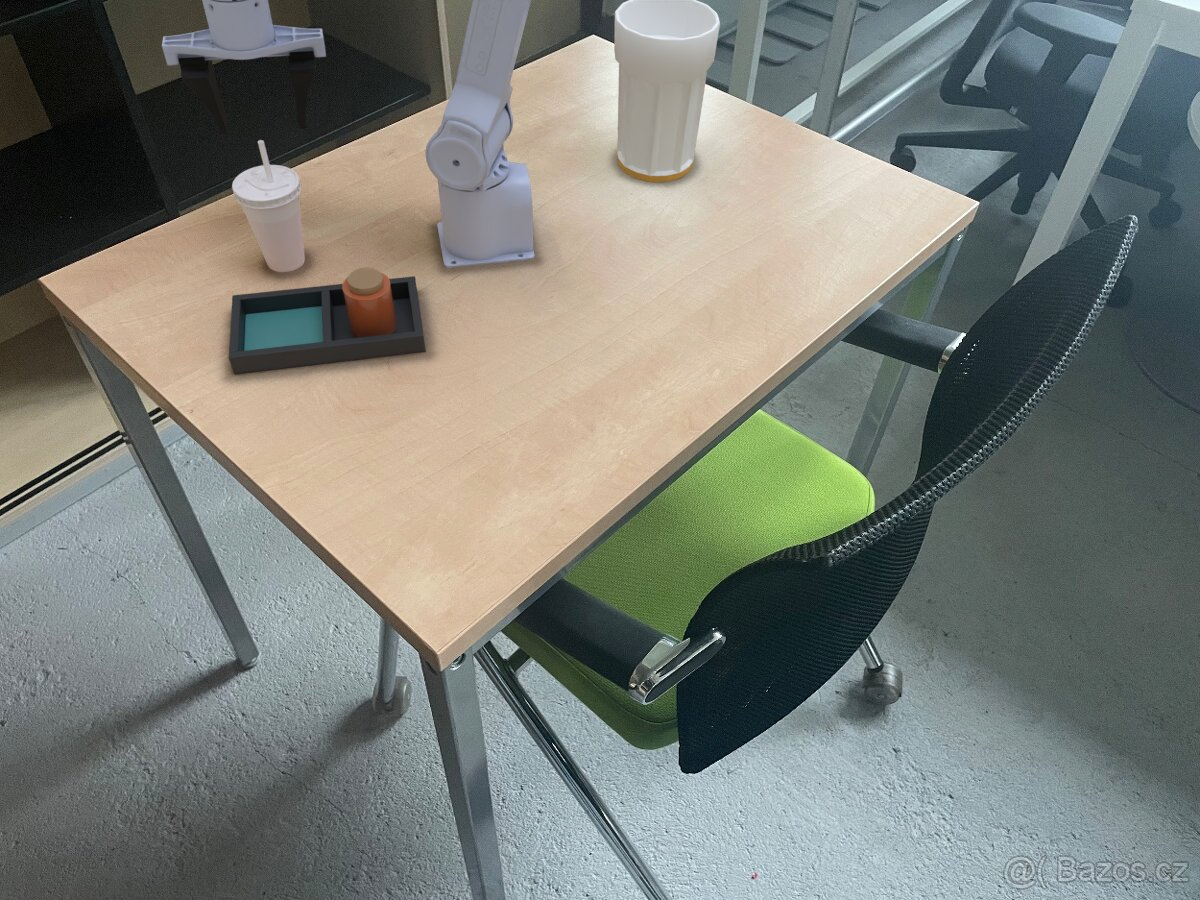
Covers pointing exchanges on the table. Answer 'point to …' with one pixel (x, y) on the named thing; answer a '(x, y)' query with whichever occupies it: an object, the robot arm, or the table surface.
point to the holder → (315, 328)
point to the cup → (661, 83)
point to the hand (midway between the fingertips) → (263, 126)
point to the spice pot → (369, 303)
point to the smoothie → (273, 212)
